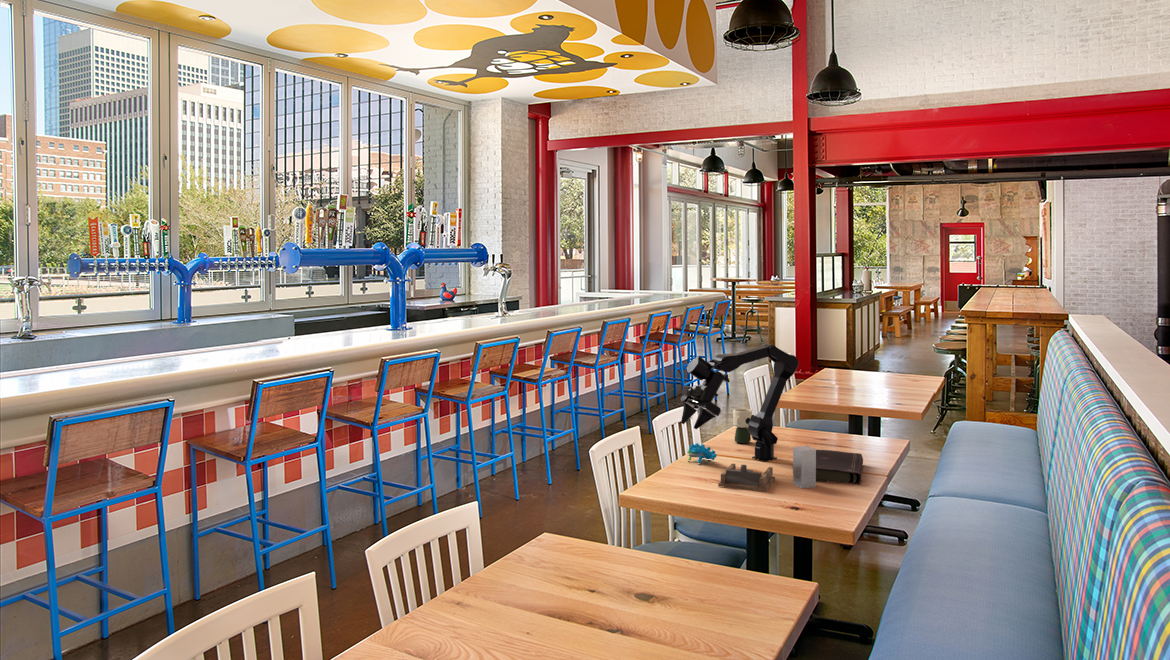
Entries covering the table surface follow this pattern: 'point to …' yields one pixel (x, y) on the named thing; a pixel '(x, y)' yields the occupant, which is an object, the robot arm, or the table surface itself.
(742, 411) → the character mug
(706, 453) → the blue spiky toy dinosaur
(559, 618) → the table surface
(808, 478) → the steel link block
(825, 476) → the diary
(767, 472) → the keeper cradle
